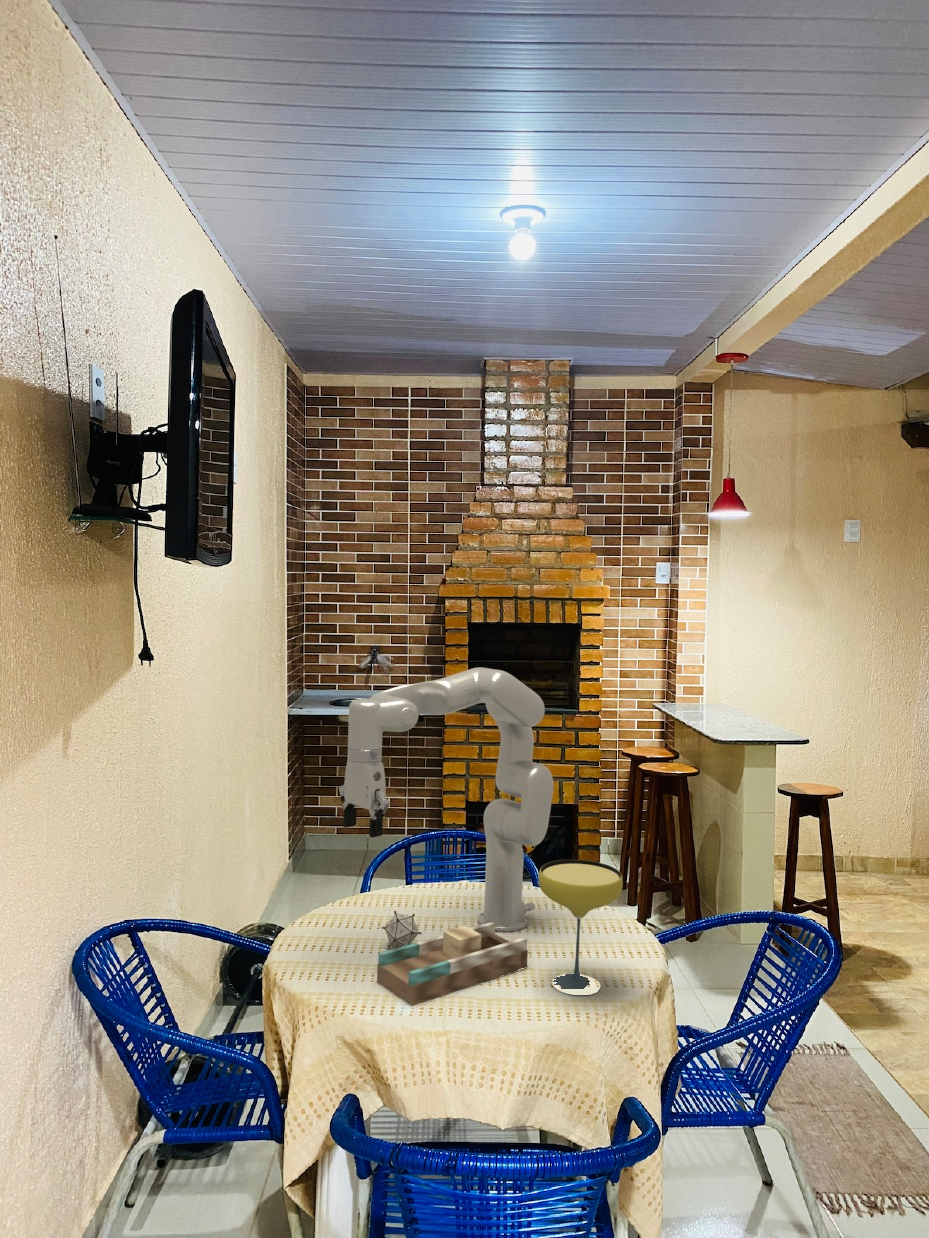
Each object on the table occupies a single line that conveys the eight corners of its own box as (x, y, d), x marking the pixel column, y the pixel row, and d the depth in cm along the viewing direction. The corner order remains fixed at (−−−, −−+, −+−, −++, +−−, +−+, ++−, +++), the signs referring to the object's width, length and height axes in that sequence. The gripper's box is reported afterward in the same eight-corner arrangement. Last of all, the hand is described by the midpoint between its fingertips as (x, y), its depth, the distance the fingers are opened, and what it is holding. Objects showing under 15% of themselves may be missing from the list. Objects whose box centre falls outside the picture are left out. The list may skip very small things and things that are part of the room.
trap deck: (490, 948, 218) (491, 921, 217) (527, 967, 208) (528, 939, 207) (376, 982, 198) (377, 952, 197) (411, 1005, 188) (412, 974, 187)
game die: (407, 960, 218) (434, 926, 219) (394, 960, 211) (422, 925, 211) (382, 934, 222) (407, 901, 223) (368, 934, 214) (395, 899, 215)
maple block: (463, 947, 208) (464, 925, 208) (480, 956, 203) (481, 934, 203) (442, 953, 204) (443, 931, 204) (459, 962, 200) (460, 940, 199)
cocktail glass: (532, 965, 209) (537, 857, 208) (612, 969, 209) (617, 860, 207) (536, 1002, 191) (541, 884, 190) (623, 1006, 191) (628, 888, 189)
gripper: (402, 760, 200) (400, 837, 201) (355, 747, 213) (353, 820, 214) (374, 764, 195) (372, 843, 196) (328, 750, 208) (326, 825, 208)
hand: (362, 831), depth 205 cm, fingers open, 9 cm apart
